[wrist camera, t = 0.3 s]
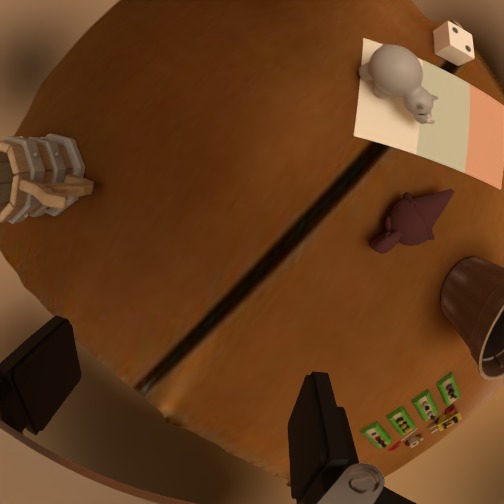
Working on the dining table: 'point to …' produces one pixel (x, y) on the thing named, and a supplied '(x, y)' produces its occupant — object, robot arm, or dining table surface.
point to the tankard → (40, 176)
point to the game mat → (438, 123)
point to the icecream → (412, 220)
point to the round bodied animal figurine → (399, 80)
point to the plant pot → (478, 311)
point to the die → (453, 44)
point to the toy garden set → (426, 411)
